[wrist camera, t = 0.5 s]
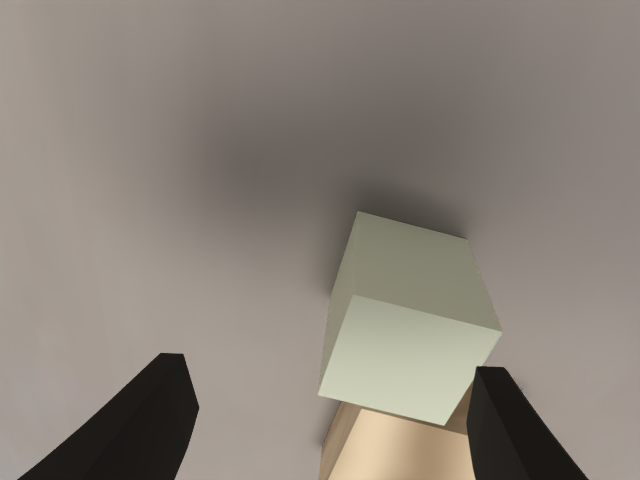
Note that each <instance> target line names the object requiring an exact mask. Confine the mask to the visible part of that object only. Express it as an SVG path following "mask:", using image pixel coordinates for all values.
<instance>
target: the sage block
mask: <svg viewBox="0 0 640 480" xmlns="http://www.w3.org/2000/svg"><path fill="white" fill-rule="evenodd" d="M502 333H503V331H502V328H501V325H500V323H499V320H498V318H497V315H496V313H495V310H494V308H493V305H492V303H491V300H490V297H489V295H488V292H487V290H486V287H485V285H484V282H483V280H482V277H481V274H480V272H479V269H478V267H477V264H476V262H475V259H474V257H473V254H472V252H471V249H470V246H469V244H468V241H467V239H464V238H460V237H456V236H452V235H448V234H444V233H441V232H437V231H433V230H429V229H425V228H421V227H417V226H414V225H410V224H406V223H402V222H398V221H394V220H390V219H387V218H383V217H379V216H375V215H371V214H367V213H363V212H360V211H357V214H356V218H355V221H354V224H353V227H352V230H351V233H350V237H349V240H348V243H347V246H346V249H345V252H344V255H343V259H342V262H341V265H340V268H339V271H338V274H337V278H336V281H335V284H334V287H333V290H332V293H331V296H330V303H329V310H328V318H327V326H326V333H325V341H324V349H323V356H322V364H321V372H320V379H319V387H318V395H320V396H324V397H328V398H332V399H337V400H341V401H345V402H349V403H353V404H357V405H361V406H365V407H369V408H373V409H377V410H382V411H386V412H390V413H394V414H398V415H402V416H406V417H410V418H414V419H418V420H422V421H427V422H431V423H435V424H439V425H443V426H444V425H445V424H446V422H447V421H448V419H449V417H450V416H451V414H452V413H453V411H454V409H455V408H456V406H457V405H458V403H459V401H460V400H461V398H462V397H463V395H464V393H465V392H466V390H467V389H468V387H469V386H470V384H471V382H472V381H473V379H474V376H475V371H476V366H482V365H483V363H484V362H485V360H486V359H487V357H488V355H489V354H490V352H491V351H492V349H493V347H494V346H495V344H496V343H497V341H498V339H499V338H500V336H501V335H502Z"/></svg>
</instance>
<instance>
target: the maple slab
mask: <svg viewBox="0 0 640 480" xmlns="http://www.w3.org/2000/svg"><path fill="white" fill-rule="evenodd" d="M473 382H474V379H473V381H472V382H471V384H470V386H469V387H468V389H467V390H466V392H465V393H464V395H463V397H462V398H461V400H460V401H459V403H458V405H457V406H456V408H455V409H454V411H453V413H452V414H451V416H450V417H449V419H448V421H447V422H446V424H445V425H444V426H443V425H439V424H435V423H431V422H427V421H422V420H418V419H414V418H410V417H406V416H402V415H398V414H394V413H390V412H386V411H382V410H377V409H373V408H369V407H365V406H361V405H357V404H353V403H349V402H345V401H341V404H340V406H339V408H338V411H337V413H336V415H335V418H334V420H333V422H332V425H331V427H330V430H329V432H328V434H327V437H326V439H325V441H324V444H323V446H322V454H321V463H320V473H319V480H476V479H475V475H474V471H473V467H472V460H471V454H470V448H469V441H468V434H467V426H466V420H467V415H468V409H469V404H470V398H471V393H472V387H473Z"/></svg>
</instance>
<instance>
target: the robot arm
mask: <svg viewBox="0 0 640 480" xmlns="http://www.w3.org/2000/svg"><path fill="white" fill-rule="evenodd" d="M198 411H199V405H198V402H197V398H196V395H195V391H194V388H193V385H192V381H191V378H190V375H189V371H188V368H187V365H186V361H185V358H184V355H183V354H173V353H160V354H159V355H158V356H157V357H156V358H155V359H154V360H153V361H151V362H150V363H149V364H148V365H147V366H146V367H145V368H144V369H143V370H142V371H141V372H140V373H139V374H138V375H137V376H135V377H134V378H133V379H132V380H131V381H130V382H129V383H128V384H127V385H126V386H125V387H124V388H123V389H122V390H121V391H120V392H119V393H117V394H116V395H115V396H114V397H113V398H112V399H111V400H110V401H109V402H108V403H107V404H106V405H104V406H103V407H102V408H101V409H100V410H99V411H98V412H97V413H96V414H95V415H94V416H92V417H91V418H90V419H89V420H88V421H87V422H86V423H85V424H84V425H83V426H81V427H80V428H79V429H78V430H77V431H75V432H74V433H73V434H72V435H71V436H70V437H68V438H67V439H66V440H65V441H64V442H63V443H61V444H60V445H59V446H58V447H57V448H56V449H54V450H53V451H52V452H51V453H50V454H49V455H47V456H46V457H45V458H44V459H43V460H41V461H40V462H39V463H38V464H37V465H35V466H34V467H33V468H32V469H30V470H29V471H28V472H26V473H25V474H24V475H23V476H21V477H20V478H19V479H17V480H174V479H175V477H176V474H177V472H178V470H179V467H180V465H181V462H182V460H183V458H184V455H185V453H186V450H187V448H188V445H189V441H190V438H191V435H192V432H193V428H194V425H195V421H196V418H197V414H198ZM466 426H467V434H468V441H469V448H470V454H471V460H472V467H473V471H474V475H475V479H476V480H589V479H588V478H587V477H586V476H585V474H584V473H583V472H582V471H581V470H580V468H579V467H578V466H577V465H576V463H575V462H574V461H573V460H572V458H571V457H570V456H569V454H568V453H567V452H566V451H565V449H564V448H563V447H562V446H561V444H560V443H559V442H558V440H557V439H556V438H555V437H554V435H553V434H552V433H551V431H550V430H549V429H548V427H547V426H546V425H545V423H544V422H543V421H542V419H541V418H540V417H539V415H538V414H537V413H536V411H535V410H534V408H533V407H532V406H531V404H530V403H529V401H528V400H527V399H526V397H525V396H524V394H523V393H522V392H521V390H520V389H519V387H518V386H517V384H516V383H515V381H514V380H513V378H512V377H511V375H510V374H509V372H508V371H507V370H506V369H505V368H504V367H486V366H476V371H475V376H474V382H473V387H472V393H471V398H470V404H469V409H468V415H467V420H466Z"/></svg>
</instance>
